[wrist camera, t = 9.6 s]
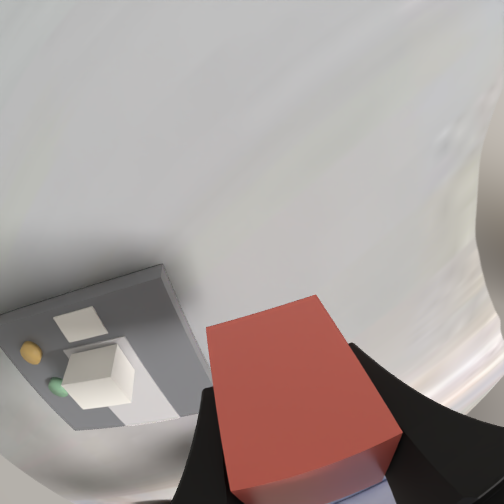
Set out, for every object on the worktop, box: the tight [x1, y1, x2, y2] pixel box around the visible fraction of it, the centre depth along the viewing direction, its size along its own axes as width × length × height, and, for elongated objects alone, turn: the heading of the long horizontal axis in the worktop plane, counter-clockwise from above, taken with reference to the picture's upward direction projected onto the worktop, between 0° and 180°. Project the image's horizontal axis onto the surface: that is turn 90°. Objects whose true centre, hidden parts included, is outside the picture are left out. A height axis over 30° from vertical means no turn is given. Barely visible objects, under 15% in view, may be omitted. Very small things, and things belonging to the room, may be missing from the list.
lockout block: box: [206, 295, 403, 504], centre depth 9 cm, size 4×4×6 cm
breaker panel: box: [0, 264, 213, 431], centre depth 18 cm, size 12×14×2 cm
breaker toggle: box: [61, 344, 135, 410], centre depth 16 cm, size 2×4×3 cm, turn 103°
